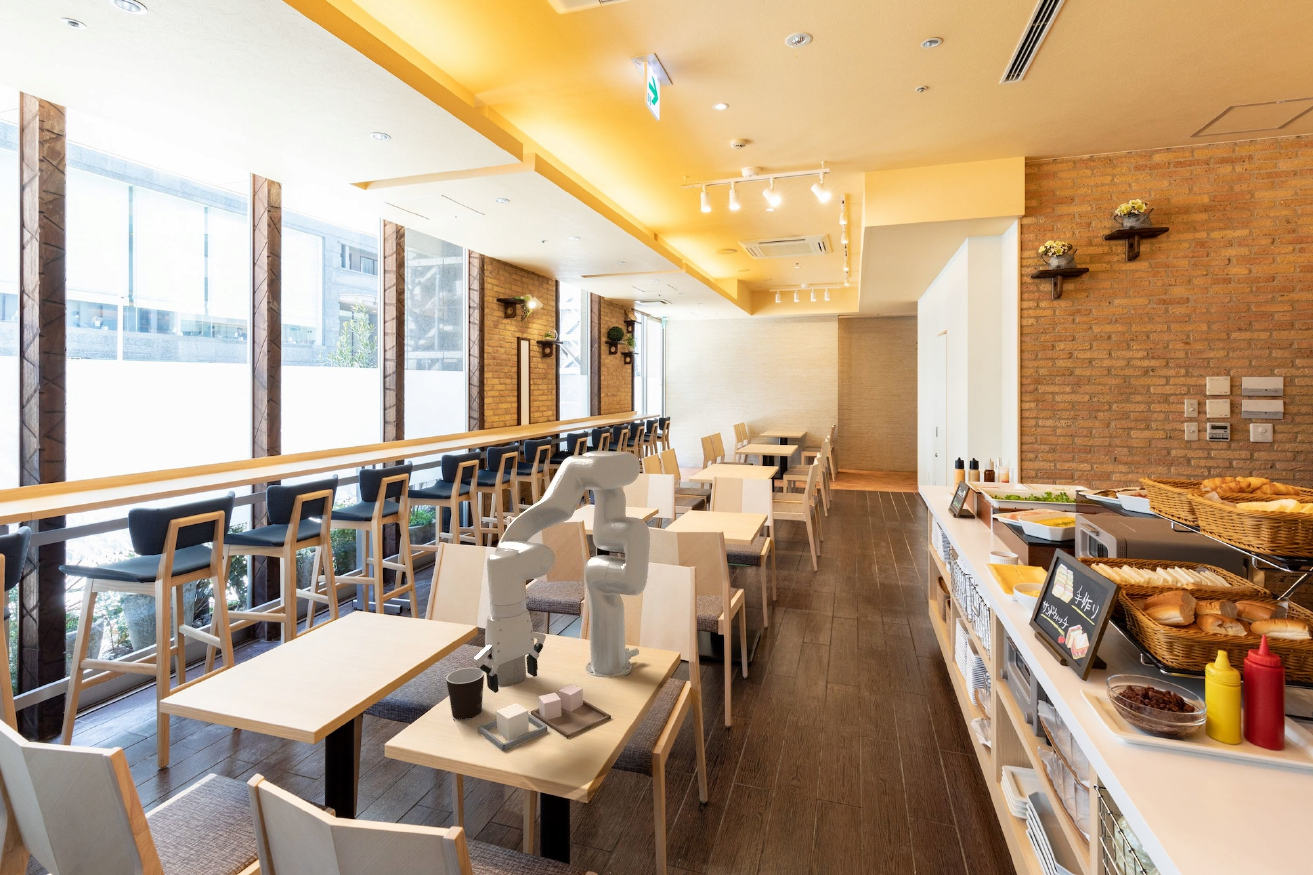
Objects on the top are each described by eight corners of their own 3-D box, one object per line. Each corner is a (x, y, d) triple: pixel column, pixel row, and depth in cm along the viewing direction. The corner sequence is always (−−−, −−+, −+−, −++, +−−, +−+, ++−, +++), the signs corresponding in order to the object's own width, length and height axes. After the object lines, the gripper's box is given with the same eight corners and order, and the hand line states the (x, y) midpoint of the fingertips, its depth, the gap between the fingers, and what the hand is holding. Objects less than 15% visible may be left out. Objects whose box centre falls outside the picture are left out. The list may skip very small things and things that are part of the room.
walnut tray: (573, 700, 157) (572, 694, 157) (611, 722, 146) (610, 715, 146) (530, 718, 149) (530, 711, 149) (567, 742, 138) (567, 735, 138)
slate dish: (521, 718, 149) (521, 709, 149) (547, 735, 141) (547, 726, 141) (478, 736, 142) (477, 726, 141) (503, 755, 133) (502, 745, 133)
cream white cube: (516, 724, 145) (516, 702, 144) (528, 732, 141) (528, 710, 141) (497, 732, 141) (496, 710, 141) (509, 741, 138) (508, 718, 137)
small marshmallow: (555, 708, 151) (555, 692, 151) (561, 716, 147) (560, 699, 147) (539, 713, 149) (538, 696, 149) (544, 720, 146) (544, 703, 145)
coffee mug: (475, 727, 145) (473, 684, 145) (441, 724, 147) (438, 682, 147) (497, 702, 157) (496, 663, 156) (465, 700, 159) (463, 661, 158)
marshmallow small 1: (571, 700, 155) (570, 684, 155) (583, 704, 153) (582, 688, 152) (559, 706, 152) (558, 690, 152) (571, 711, 149) (570, 695, 149)
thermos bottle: (505, 672, 174) (500, 571, 173) (531, 675, 172) (527, 573, 170) (489, 685, 167) (484, 580, 165) (516, 688, 164) (512, 581, 163)
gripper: (533, 593, 148) (537, 664, 150) (463, 614, 136) (469, 691, 138) (551, 600, 143) (555, 674, 144) (479, 623, 131) (485, 703, 133)
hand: (513, 682), depth 141 cm, fingers open, 9 cm apart
